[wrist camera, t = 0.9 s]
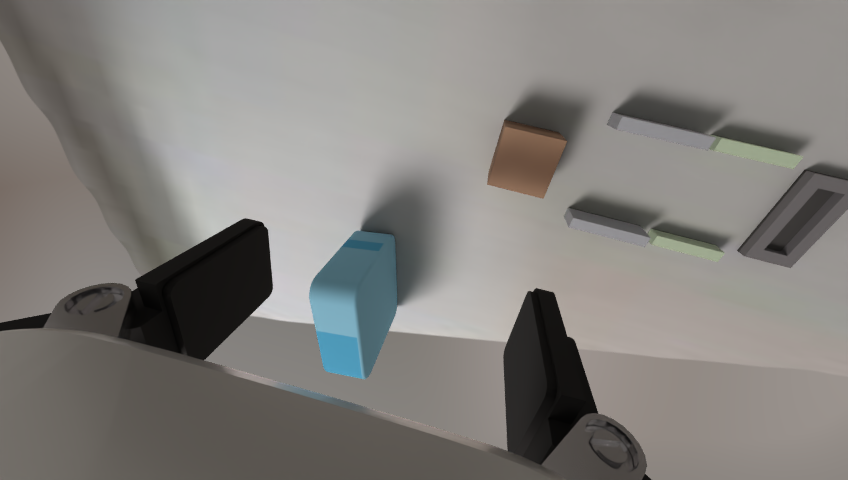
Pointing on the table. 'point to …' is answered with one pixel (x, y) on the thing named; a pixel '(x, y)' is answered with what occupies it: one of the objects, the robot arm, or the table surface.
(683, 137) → the walled lane
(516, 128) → the walnut block
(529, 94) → the table surface
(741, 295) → the table surface
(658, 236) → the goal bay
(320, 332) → the data package
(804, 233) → the tray
